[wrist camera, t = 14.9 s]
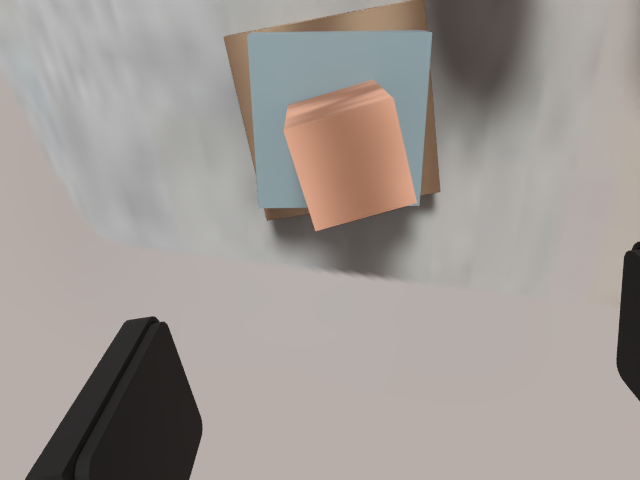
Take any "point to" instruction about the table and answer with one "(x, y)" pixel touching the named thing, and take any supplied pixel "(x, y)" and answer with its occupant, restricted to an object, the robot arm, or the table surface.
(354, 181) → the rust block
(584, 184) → the table surface
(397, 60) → the top block
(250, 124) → the base block
